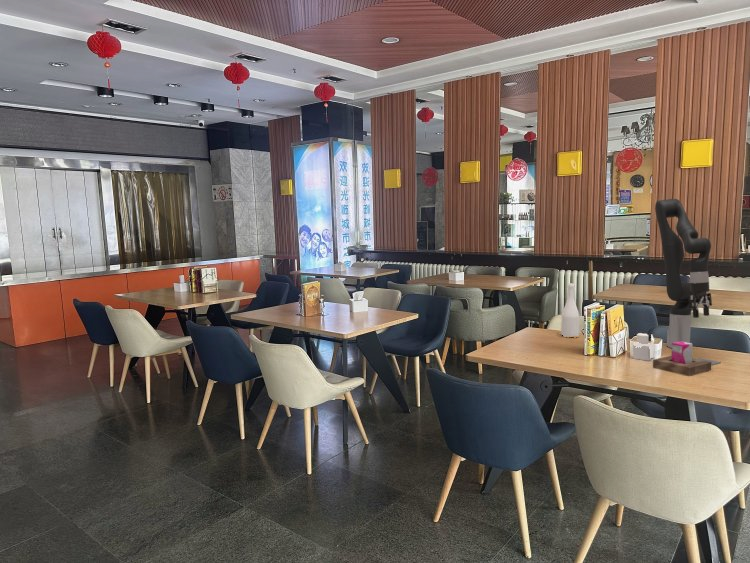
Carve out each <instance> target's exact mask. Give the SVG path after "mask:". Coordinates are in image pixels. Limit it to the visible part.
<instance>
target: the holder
mask: <svg viewBox="0 0 750 563" xmlns="http://www.w3.org/2000/svg"><path fill="white" fill-rule="evenodd" d="M711 363H712V362H708V361H703V360H699V359H695V358H694V357H692V363H689V364H682V363H678V362H673V361H672V354H671V355H668V356H667V355H666V356H664V357H663V356H662V357H659V358H653V359H652V368H653V369H657V370H662V371H665V372H666V371H667V372H670V373H674V374H678V375H683V376H688V377H690V376H695V375H698V374H702V373H706V372H709V371H711V370H712V365H711Z"/></svg>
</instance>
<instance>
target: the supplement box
mask: <svg viewBox="0 0 750 563" xmlns="http://www.w3.org/2000/svg"><path fill="white" fill-rule="evenodd" d="M693 347H694V346H693V343H692V342H690V343H687V342H682V341H681V342H674V343H672V348H671V355H672V361H673V362H678V363H682V364H689V363H692V358H693V350H694V348H693Z"/></svg>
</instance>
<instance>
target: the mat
mask: <svg viewBox="0 0 750 563" xmlns="http://www.w3.org/2000/svg"><path fill="white" fill-rule="evenodd" d="M694 359H699V360H703V361H708V362H712V363H711V366H715V365H718V364H721V363H722V362H721V361H717V360H712V359H709V358H708V359H707V358H702V357H695V358H694Z"/></svg>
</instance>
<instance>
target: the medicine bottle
mask: <svg viewBox="0 0 750 563" xmlns="http://www.w3.org/2000/svg"><path fill="white" fill-rule="evenodd" d="M636 342H639V343H641V344H648V343H652V334H650V333H648V332H638V333H637V334H636ZM635 347H636V346H634V345H633V344H632V359H634V360H641V361H647V362H649V361H651V360H650V349H649V346H646V345H644V346H642V347H641V348H640V347H639V348H638V347H637V348H635Z"/></svg>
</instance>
